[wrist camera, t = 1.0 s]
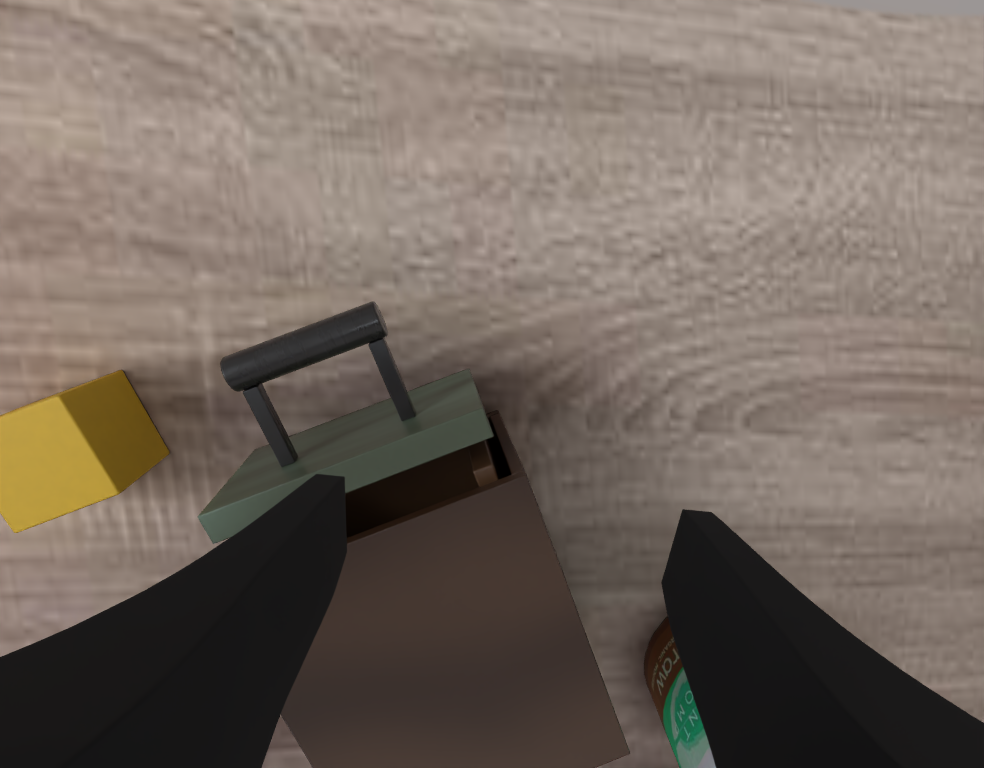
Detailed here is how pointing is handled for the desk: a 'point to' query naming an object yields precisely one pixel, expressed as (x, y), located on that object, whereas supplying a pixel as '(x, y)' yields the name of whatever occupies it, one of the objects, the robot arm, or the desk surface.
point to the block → (74, 450)
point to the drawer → (355, 434)
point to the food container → (675, 701)
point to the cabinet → (455, 644)
